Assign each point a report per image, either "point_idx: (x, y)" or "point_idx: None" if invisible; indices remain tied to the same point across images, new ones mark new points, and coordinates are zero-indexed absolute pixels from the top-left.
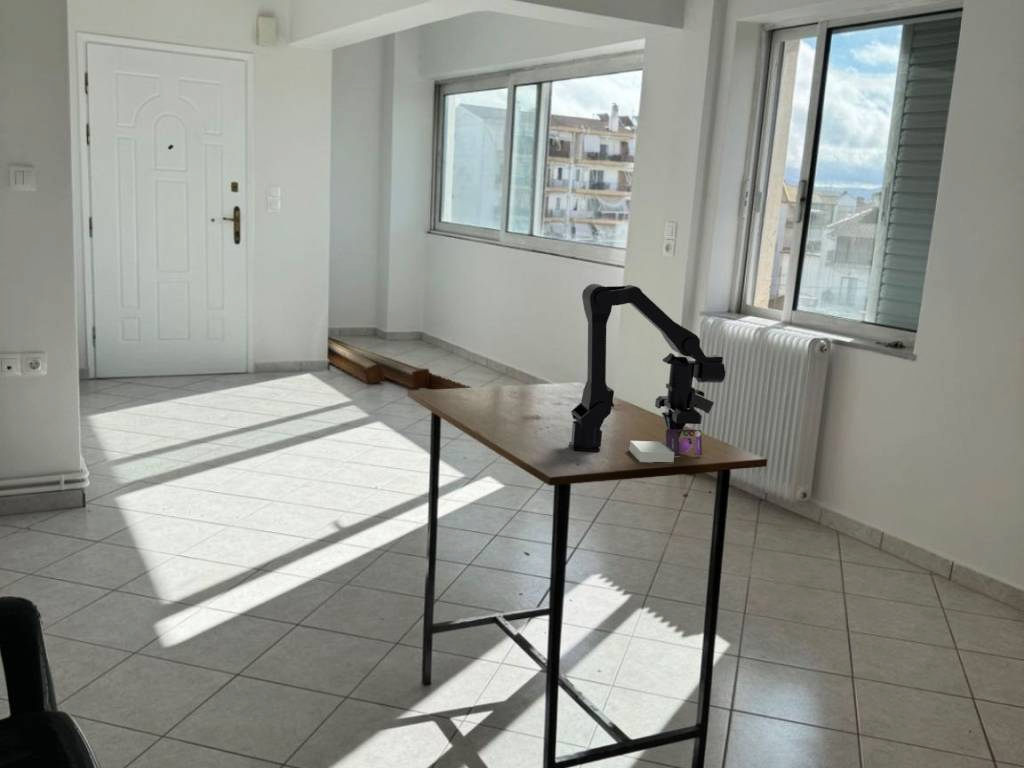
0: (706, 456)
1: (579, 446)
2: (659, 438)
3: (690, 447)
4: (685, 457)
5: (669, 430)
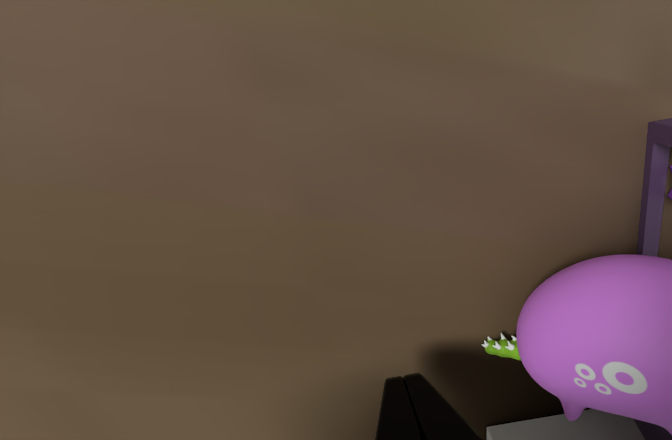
0: (620, 49)
1: None
2: (45, 418)
3: None
4: None
5: None
